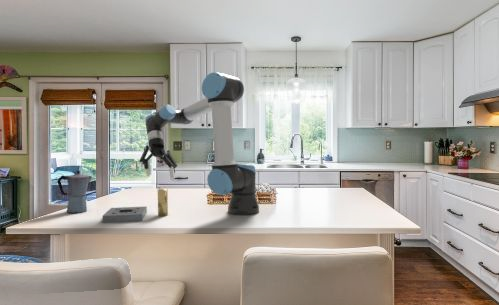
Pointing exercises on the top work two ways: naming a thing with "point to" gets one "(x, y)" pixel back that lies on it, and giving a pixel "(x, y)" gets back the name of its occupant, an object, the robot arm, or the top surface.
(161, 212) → the tan peg
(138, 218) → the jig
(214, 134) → the robot arm
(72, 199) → the moka pot
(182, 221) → the top surface
